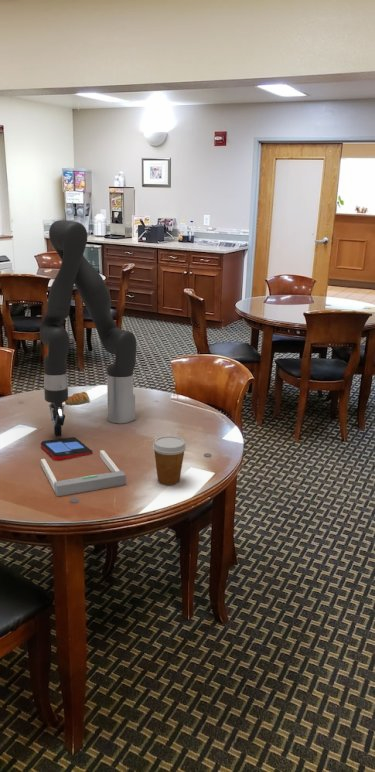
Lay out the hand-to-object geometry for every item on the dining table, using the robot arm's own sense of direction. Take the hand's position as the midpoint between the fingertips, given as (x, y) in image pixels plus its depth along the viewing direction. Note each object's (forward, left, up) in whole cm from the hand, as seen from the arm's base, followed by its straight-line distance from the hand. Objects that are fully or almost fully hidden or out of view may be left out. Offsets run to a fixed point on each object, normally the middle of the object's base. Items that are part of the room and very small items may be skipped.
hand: (57, 435), depth 198 cm
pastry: (-16, -34, -1) cm, 37 cm away
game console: (0, +10, -2) cm, 11 cm away
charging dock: (0, +29, -1) cm, 30 cm away
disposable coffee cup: (-22, +42, -1) cm, 48 cm away
